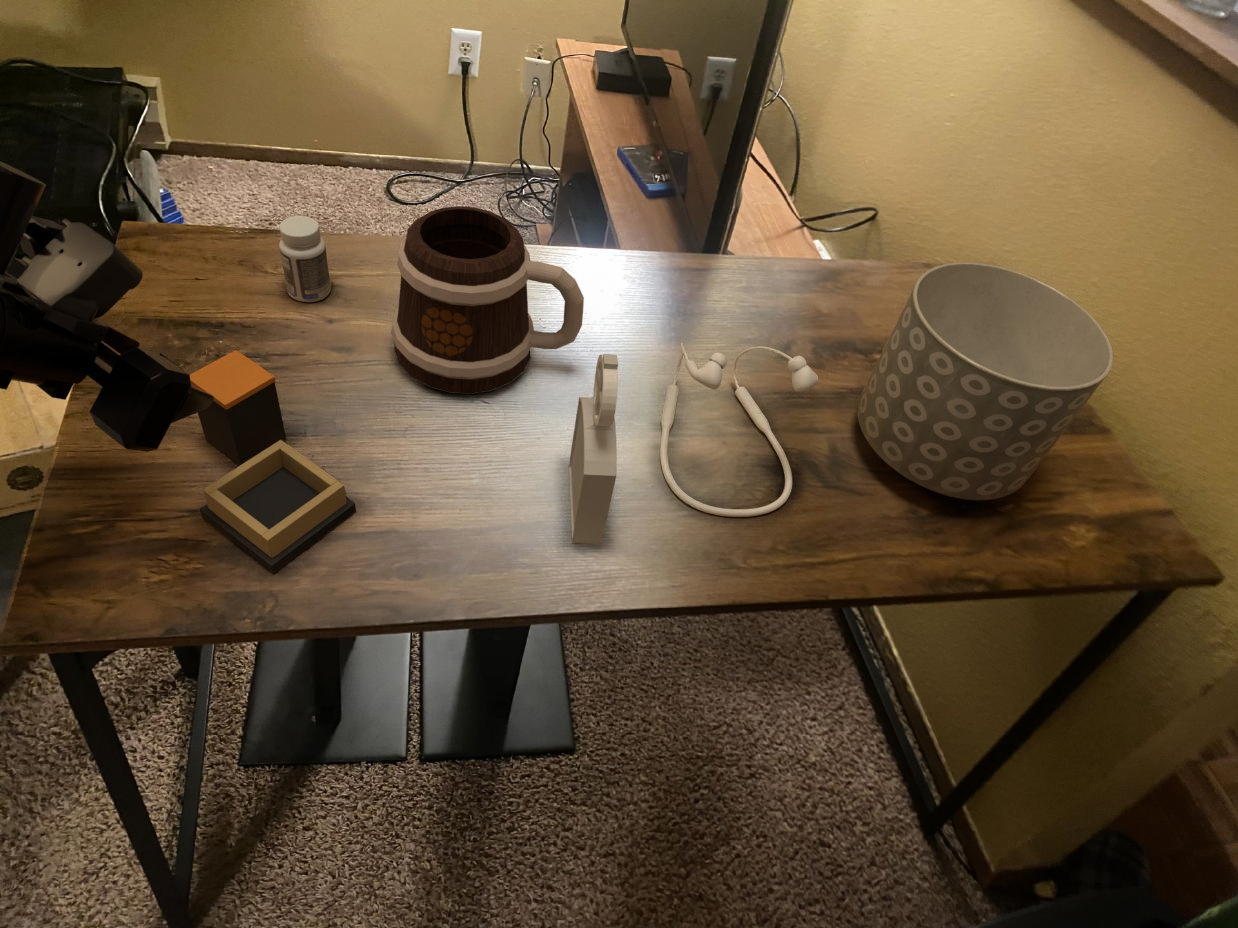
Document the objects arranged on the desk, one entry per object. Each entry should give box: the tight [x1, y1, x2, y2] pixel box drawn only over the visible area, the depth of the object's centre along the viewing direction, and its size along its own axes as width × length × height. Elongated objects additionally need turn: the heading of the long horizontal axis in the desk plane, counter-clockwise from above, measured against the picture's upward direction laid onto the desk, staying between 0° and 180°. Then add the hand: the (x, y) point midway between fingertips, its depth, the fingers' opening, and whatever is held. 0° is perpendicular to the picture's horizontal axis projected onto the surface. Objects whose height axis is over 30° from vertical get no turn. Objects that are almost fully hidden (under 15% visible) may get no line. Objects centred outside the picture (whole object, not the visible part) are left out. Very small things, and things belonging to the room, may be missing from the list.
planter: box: [856, 261, 1114, 501], centre depth 85 cm, size 19×19×18 cm
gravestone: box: [568, 353, 619, 545], centre depth 73 cm, size 3×9×18 cm, turn 5°
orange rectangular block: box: [189, 349, 287, 467], centre depth 76 cm, size 5×5×8 cm
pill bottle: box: [278, 215, 332, 303], centre depth 92 cm, size 5×5×8 cm
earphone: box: [659, 342, 819, 518], centre depth 85 cm, size 14×17×18 cm
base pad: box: [199, 440, 357, 575], centre depth 72 cm, size 9×9×4 cm
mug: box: [390, 205, 585, 395], centre depth 86 cm, size 20×15×15 cm
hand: (172, 374), depth 67 cm, fingers open, 9 cm apart
